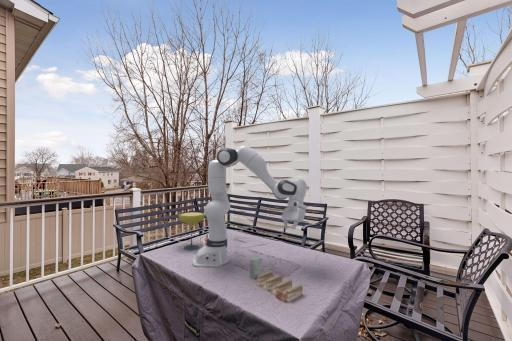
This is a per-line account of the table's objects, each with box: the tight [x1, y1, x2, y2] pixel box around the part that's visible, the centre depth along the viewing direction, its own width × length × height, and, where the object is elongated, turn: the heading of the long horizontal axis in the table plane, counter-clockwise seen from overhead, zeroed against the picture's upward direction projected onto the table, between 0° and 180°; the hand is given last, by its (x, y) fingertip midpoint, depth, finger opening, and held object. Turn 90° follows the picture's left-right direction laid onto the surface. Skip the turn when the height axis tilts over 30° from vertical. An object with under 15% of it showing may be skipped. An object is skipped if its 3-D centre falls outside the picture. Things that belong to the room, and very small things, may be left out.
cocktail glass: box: [178, 210, 205, 251], centre depth 182 cm, size 18×18×25 cm
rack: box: [256, 270, 304, 303], centre depth 122 cm, size 21×11×4 cm, turn 42°
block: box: [249, 256, 263, 280], centre depth 136 cm, size 3×6×10 cm, turn 132°
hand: (289, 228), depth 144 cm, fingers open, 8 cm apart
